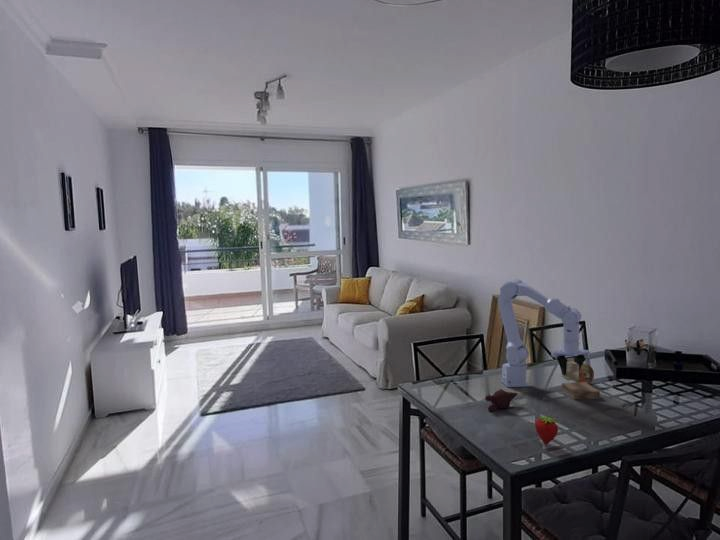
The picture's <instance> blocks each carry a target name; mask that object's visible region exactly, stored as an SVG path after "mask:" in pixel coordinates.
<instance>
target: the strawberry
mask: <svg viewBox="0 0 720 540" xmlns="http://www.w3.org/2000/svg"><path fill="white" fill-rule="evenodd" d="M549 416H550V413H548V414H547V416H546V415H545V416H543V415H542V416H540V415H539V417H540V418H537V419H536V420H535V423H534V427H535V432H536V433H537V435H538V437H539V438H540V439H541V441H542V443H543V444H544V445H548V444H549V443H551V442H552V441H554V439H555V438H556V437H557V435H558V432H559V428H558V427H559V426H558V425H557V423H556V421H555V420H556V418H552V417H549Z"/></svg>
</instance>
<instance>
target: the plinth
mask: <svg viewBox="0 0 720 540" xmlns="http://www.w3.org/2000/svg"><path fill="white" fill-rule="evenodd" d="M562 390H563V391H564V392H565V393H564V394H566V395H567V394H568V395H569V396H568V395H567V396H568V397H569V398H571V397H572V398H573V399H572V398H571V399H572V400H574V399H580V400H600V395H601V394H600V392H601V391H600V390H598V389H597V388H595V387H594V386H593V385H591V384H589V383H579V382H564V383H562V382H561V391H562ZM563 391H562V392H563Z"/></svg>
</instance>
